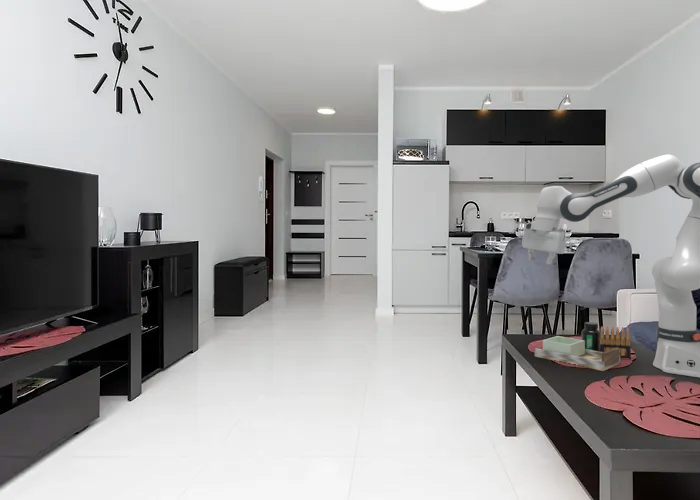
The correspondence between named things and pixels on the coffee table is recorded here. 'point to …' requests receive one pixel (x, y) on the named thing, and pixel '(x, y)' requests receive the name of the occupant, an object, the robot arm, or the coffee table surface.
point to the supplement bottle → (591, 336)
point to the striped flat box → (585, 358)
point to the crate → (565, 345)
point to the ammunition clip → (616, 342)
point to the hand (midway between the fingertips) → (539, 262)
